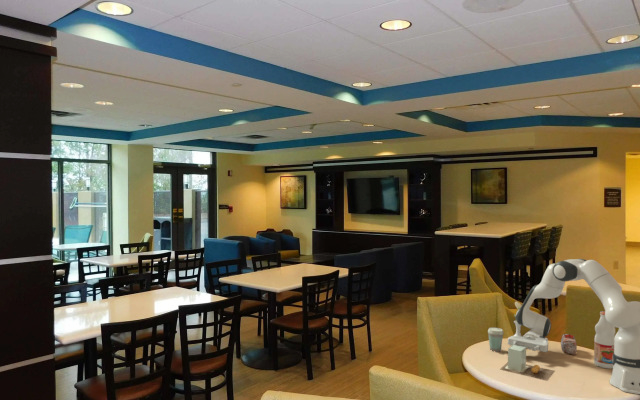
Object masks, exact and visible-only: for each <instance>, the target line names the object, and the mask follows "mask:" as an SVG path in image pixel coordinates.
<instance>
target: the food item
mask: <svg viewBox="0 0 640 400" xmlns="http://www.w3.org/2000/svg"><path fill="white" fill-rule="evenodd" d="M560 340H561V341H560V347H561V350H562V353H563V354H565V355H572V356H576V355H577V350H578V349H577V348H578V346H577V341H576V338H575V336H574V335H573V334H569V333H564V334H562V336H561V339H560Z"/></svg>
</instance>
